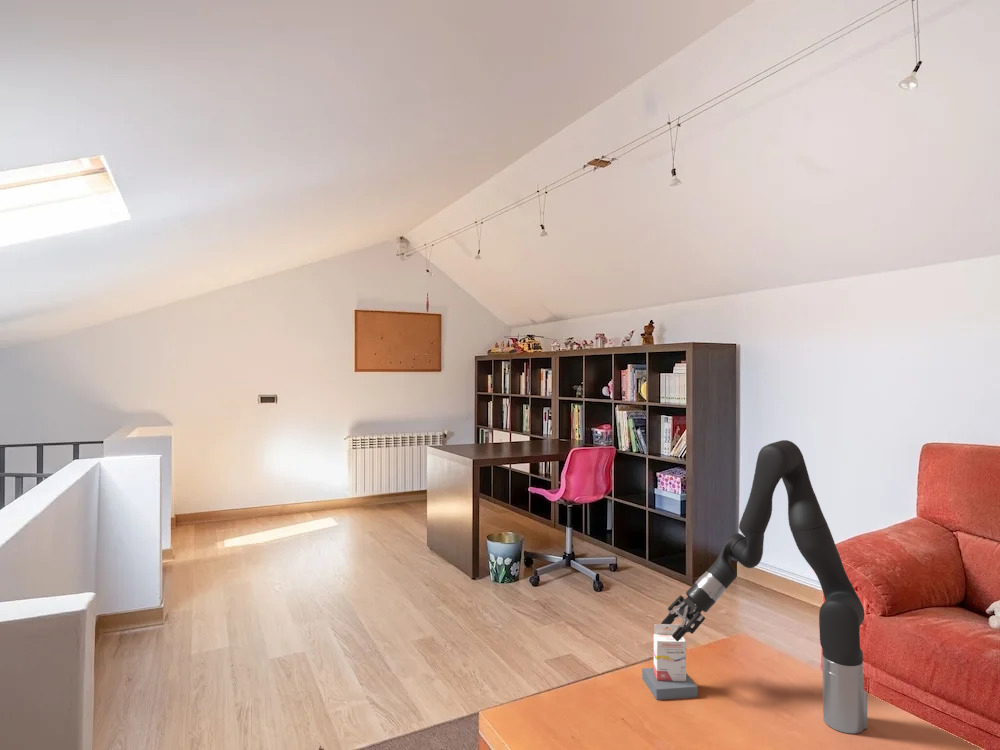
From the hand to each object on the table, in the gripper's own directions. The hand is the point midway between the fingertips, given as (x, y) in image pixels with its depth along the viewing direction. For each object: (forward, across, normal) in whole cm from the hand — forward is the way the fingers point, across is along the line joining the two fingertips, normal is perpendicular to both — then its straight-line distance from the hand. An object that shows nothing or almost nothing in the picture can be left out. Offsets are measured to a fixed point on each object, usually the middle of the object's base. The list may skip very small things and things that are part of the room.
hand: (668, 632), depth 176 cm
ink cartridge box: (+9, 0, +10) cm, 13 cm away
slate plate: (+12, 0, +11) cm, 16 cm away
